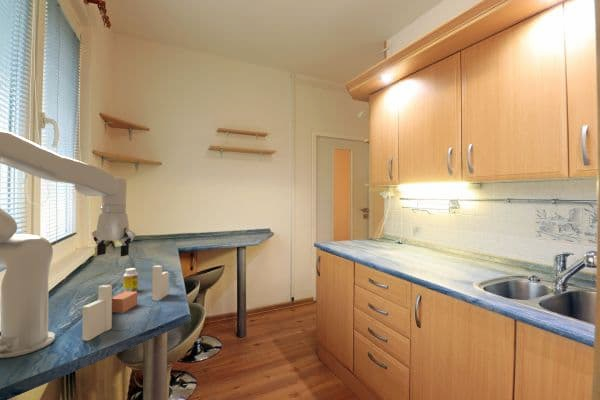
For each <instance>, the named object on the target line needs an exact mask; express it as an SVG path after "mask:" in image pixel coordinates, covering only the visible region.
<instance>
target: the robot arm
mask: <svg viewBox="0 0 600 400" xmlns="http://www.w3.org/2000/svg"><path fill="white" fill-rule="evenodd" d="M0 164H2V165H5V166H6V167H7V166H8V167H10V168H12V169H16V170H17V171H18V170H19V171H21V172H22V173H23V172H24V173H25V174H29V175H31V176H34V177H37V178H39V179H42V180H45V181H46V180H47V181H50V182H55V183H56V182H57V183H66V184H72V185H74V189H75V190H76V191H77V193H79V194H80V195H82V196H83V195H84V196H85V197H86V196H88V197H98V196H99V197H101V206H100V207H99V208H100V210H101V212H100V213H99V215H98V219H97V225H96V230H94V231H92V232H91V236H92V238H93V241H94V242H95V244H96V248H97V249H96V254H97V256H102V255H105V254H106V253H107V252H106V251H107V244H106V241H115V242H116V241H119V242H120V243H121V246H120V257H126V256H129V251H130V245H131V243H133V241H134V238H135V237H136V233H135V232H133V231H132V230H130V227H129V217H128V214H127V213H126V211H127V180H126V179H125V178H123V177H120V176H118V177H117V176H115V175H113V174H112V173H110V172H108V171H107V170H106V171H105V170H103V168H100V167H97V166H95V165H92V164H89V163H85V162H83V161H80V160H77V159H74V158H70V157H68V156H64V155H60V154H58V153H56V152H54V151H52V150H50V149H47V148H46V147H43V146H41V145H39V144H37V143H35V142H33V141H30V140H28V139H26V138H24V137H22V136H20V135H18V134H15V133H13V132H9V131H5V130H0ZM17 231H18V224H17V222H16V220H15V219H14V217H13V216H12V215H11V214H9V213H8V212H7V211H5V210H4V209H3V208H1V207H0V267H3V268H5V269H6V270H5V273H4V274H3V278H2V281H1V288H0V296H1V297H0V300H1V302H0V303H1V304H0V358H1V359H5V358H6V359H7V358H12V357H13V358H14V357H19V356H23V355H27V354H30V353H33V352H35V351H36V352H37V351H39V350H41V349H43V348H45V347H47V346H49V345H51V344H52V343H53V342H54V341H55V340H56V333H55V332H52V331H49V277H50V276H49V275H50V267H51V263H52V259H53V254H54V249H53V246H52V243H51V242H50V241H49V240H48V239H47V238H46V237H43V236H40V235H35V234H26V233H23V234H22V233H17Z"/></svg>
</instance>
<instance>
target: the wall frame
mask: <svg viewBox="0 0 600 400" xmlns="http://www.w3.org/2000/svg"><path fill="white" fill-rule="evenodd" d="M169 272H170V271H163V265H153V266H152V275H151V277H152V278H151V279H152V281H151V282H152V288H151V291H152V292H151V297H152V298H151V299H152V301H154V302H155V301H156V302H157V301H161V300H162V299H164V298H165V297H167V296H169V290H170V289H169V288H170V286H169V285H170V283H169V279H170V277H169ZM112 289H113V285H111V284H102V285H99V286H98V288H97V290H98V291H97V294H98V295H97V300H95V301H93V302H91V303H88V304H85V305H83V306H82V326H81V327H82V335H81V336H82V337H81V338H82V341H87V342H89V341H90V340H92V339H94V338H96V337H98V336H100V335H101V334H102V333H104V332H107V331H109V330H111V329H112V327H113V312H112V298H113V294H112V293H113V292H112V291H113V290H112Z"/></svg>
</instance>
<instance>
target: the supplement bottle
mask: <svg viewBox="0 0 600 400" xmlns="http://www.w3.org/2000/svg"><path fill="white" fill-rule="evenodd" d="M122 279H123V280H122V281H123V283H122V284H123V287H122V288H123V292H122V293H124V292H138V290H139V287H138V286H139V285H138V283H139V273H138V272H137V268H135V267H129V268H126V269H125V273H124V274H123V278H122Z"/></svg>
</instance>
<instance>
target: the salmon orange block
mask: <svg viewBox="0 0 600 400" xmlns="http://www.w3.org/2000/svg"><path fill="white" fill-rule="evenodd" d="M137 305H138V291H136V292H122V293H119V294H117V295H115V296H112V313H119V314H120V313H125V312H127V311H128V310H130V309H132V308H133V307H135V306H137Z"/></svg>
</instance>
